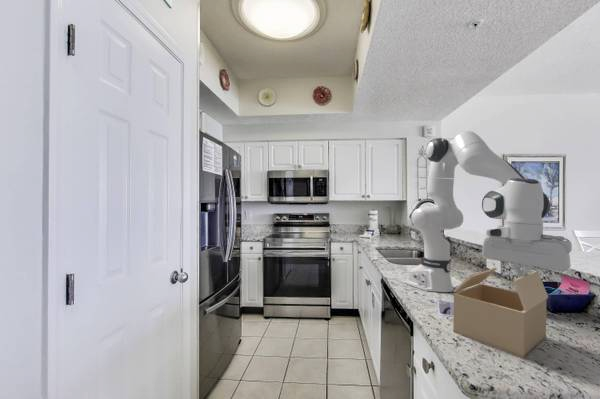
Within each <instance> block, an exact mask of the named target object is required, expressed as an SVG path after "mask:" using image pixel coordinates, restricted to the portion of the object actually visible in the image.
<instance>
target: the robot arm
mask: <svg viewBox="0 0 600 399" xmlns="http://www.w3.org/2000/svg"><path fill="white" fill-rule="evenodd" d="M425 155H426V158H427V159H428V160H429V161H430V164H429V165H430V166H429V171H428V175H427V185H426V186H427V188H426V193H427V195H428V197H430V198H431V199H432V200H433V202H434V206H423V207H418V208H416V209H414V210H413V212H412V213H411V219H410V220H411V222H412V224H413V227H415V228H416V229H417V230H418V231H419V233H420V235H421V237H422V240H423V244H424V246H423V250H424V253H423V254H424V256H423V257H420V258H419V261H420V264H418V265H416V266H415V267H413V268H412V269H410V270H409V272H408V275H407V278H404V279H403V282H402V283H404V284H405V285H409V286H410V287H411V286H412V287H414V288H417V289H420V290H422V291H425V292H437V293H448V292H449V293H450V292H454V291H453V290H454V287H453V284H452V283H453V282H452V277H451V269H452V262H451V261H452V260H451V244H450V242H449V241H448V240H447V239H446V238H445V237H444V236H443V234H442V230H454V229H456V228H457V229H458V228H460V227H461V226H462V224H463V223H464V215H463V212H462V211H461V210H460V209H459V208H458V207H457V204H456V202H455V198H454V184H455V182H454V181H455V171H456V167H457V165H459V166H460V168H461V169H462V170H464V171H465V173H468V174H469V175H471V176H472V175H473V176H478V177H484V178H488V179H492V180H495V181H498V182H500V183H501V184H502V185H503V186H501V187H498V188H496V189H494V190H490V191H487V193H486V194H485V195H484V196H483V198H482V199H481V200H482V201H481V209H482V211H483V213H484V214H485V215H486V216H487V217H488V218H490V219H494V220H495V219H496V220H504V226H503V225H502V226H500V225H499V226H497V227H494V228H492V227H491V228H487V229H486V231H485V235H486V237H485V238H484V240H483V243H482V250H481V253H482V256H483V257H484V259H486V260H491V261H492V260H493V261H498V262H506V263H511V264H512V267H513V269H514V270H515V272H516V273H517V278H516V279H518V278H520V277H523V276H525V275H527V274H529V273H530V271H531V270H532V267H535V268H540V269H544V270H545V269H546V270H552V271H557V272H558V271H559V272H566V271H568V270H570V268H571V257H570V253H571V251H572V248H573V247H572V246H573V245H572V244H573V243H572V241H571V240H569V239H567V238H566V237H564V236H563V235H552V234H544V221H543V218H546V216H547V215H548V214H549V212H550V210H551V200H550V199H549V198H550V197H548V195H547V194H546V193H545V192H544V190H543V186H542V183H541V182H540V181H539V180H537V179H534V178H526V177H525V176H523V175H522V173H521V172H519V170H518V169H517V168H516V167H514V165H513V164H511V163H510V162H508V161H507V160H505V159H503V158H502V157H500V155H498V154H496V153H495V152H494V151H493V150H492V149H491V148H490V147H489V146H488V145H487V143H486V142H485V141H484V139H482V138H481V137H480V136H479V135H478V134H477V133H475V132H474V131H470V130H465V131H462V132H460V133H459V134H457V135H455V137H444V138H442V137H438V138H437V137H436V138H432V139H431V140H430V141H428V143H427V146H426V149H425ZM522 266H523V269H524V271H522V270H521V267H522Z"/></svg>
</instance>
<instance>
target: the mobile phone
mask: <svg viewBox="0 0 600 399" xmlns="http://www.w3.org/2000/svg"><path fill="white" fill-rule="evenodd" d="M437 305H438V306H437V307H438V315H441V316H444V317H449V318H454V302H452V301H451V302H450V301H444V300H443V301H442V300H438V301H437Z"/></svg>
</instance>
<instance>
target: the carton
mask: <svg viewBox="0 0 600 399" xmlns="http://www.w3.org/2000/svg"><path fill="white" fill-rule="evenodd" d="M453 303H454V317H453V332H454V333H456V334H458V335H461V336H463V337H466V338H468V339H470V340H474V341H477V342H479V343H482V344H484V345H487V346H490V347H492V348H495V349H497V350H500V351H503V352H505V353H508V354H511V355H513V356H516V357H519V358H521V359H525V358H527V356H528V355H529V354H530V353H531V352H532V351H533V350H535V349H536V348H537V347H538V346H539V345H540V344H541V343H542V342H543V341H544V340H546V338H547V299H545V300H544V301H542V302H541V303H539V304H538V305H536V306H535V307H533V308H532V309H530V310H529V311H524V308H523V305H522V303H521V300H520V297H519V295H518V292H517V291H515V290H510V289H505V288H501V287H497V286H492V285H487V284H483V283H479V284H476V285H473V286H471V287H468V288H465V289H462V290H460V291H457V292H454V293H453Z"/></svg>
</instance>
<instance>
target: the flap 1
mask: <svg viewBox="0 0 600 399" xmlns="http://www.w3.org/2000/svg"><path fill="white" fill-rule="evenodd" d="M497 270H498V268H497V267H493V268H489V269H487V270H484V271H480V272H477V273H474V274H470V275H469V276H468V277H467V278H466V279H464V280H463V282H461V283H460V284H459V285H457V287H455V288H454V289H453V291H452V292H454V293H458V292H460V291H463V290H466V289H468V288H471V287H474V286H476V285H479V284H482V282H484V280H485V279H487V278H488V277H489V276H490V275H492V274H493V273H494V272H495V271H497Z"/></svg>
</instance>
